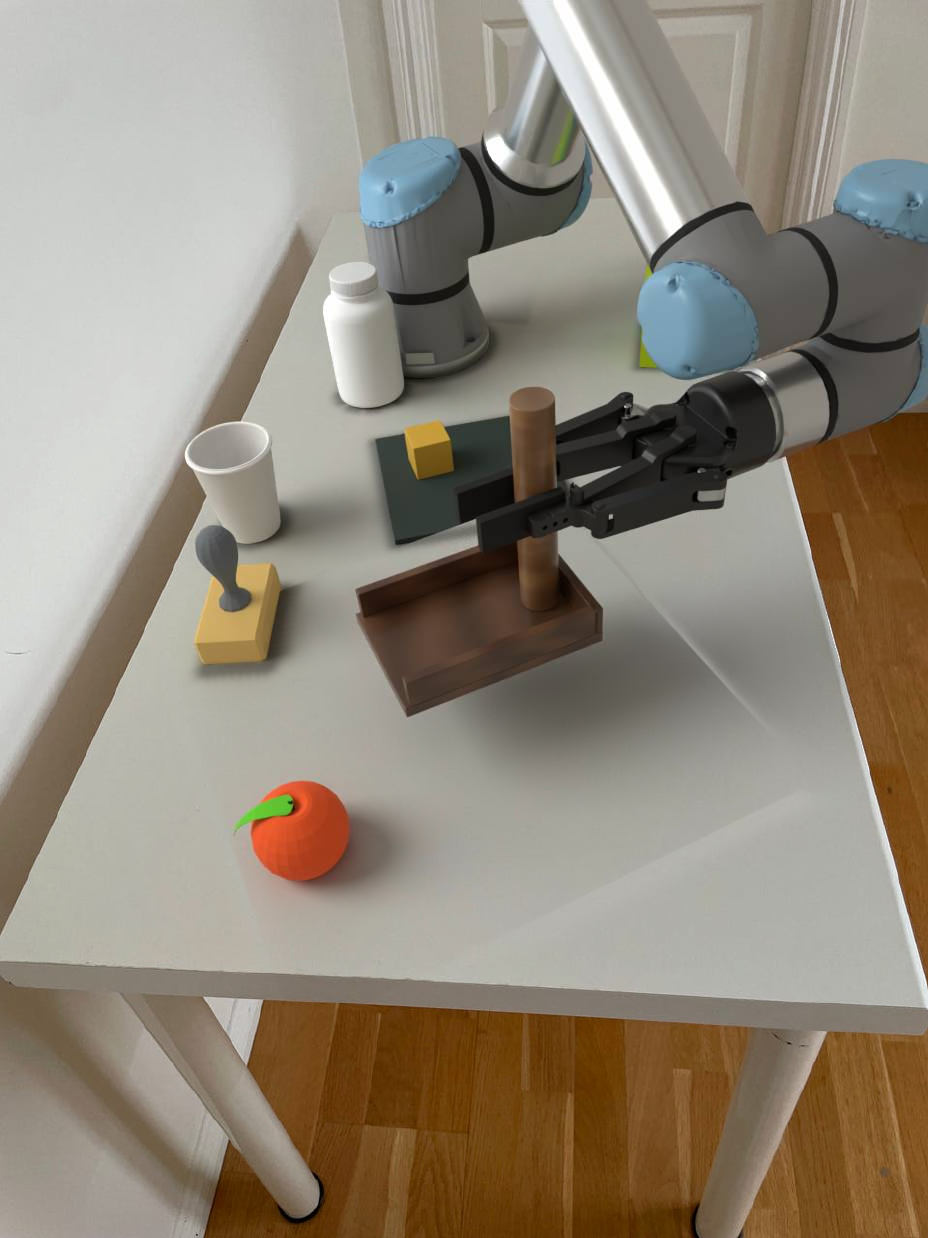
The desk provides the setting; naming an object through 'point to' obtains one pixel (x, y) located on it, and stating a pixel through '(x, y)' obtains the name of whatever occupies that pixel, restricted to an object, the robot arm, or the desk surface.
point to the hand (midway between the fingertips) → (468, 520)
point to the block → (429, 449)
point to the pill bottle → (362, 337)
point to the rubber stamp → (234, 602)
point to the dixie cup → (238, 478)
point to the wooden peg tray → (484, 594)
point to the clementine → (299, 830)
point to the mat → (440, 476)
